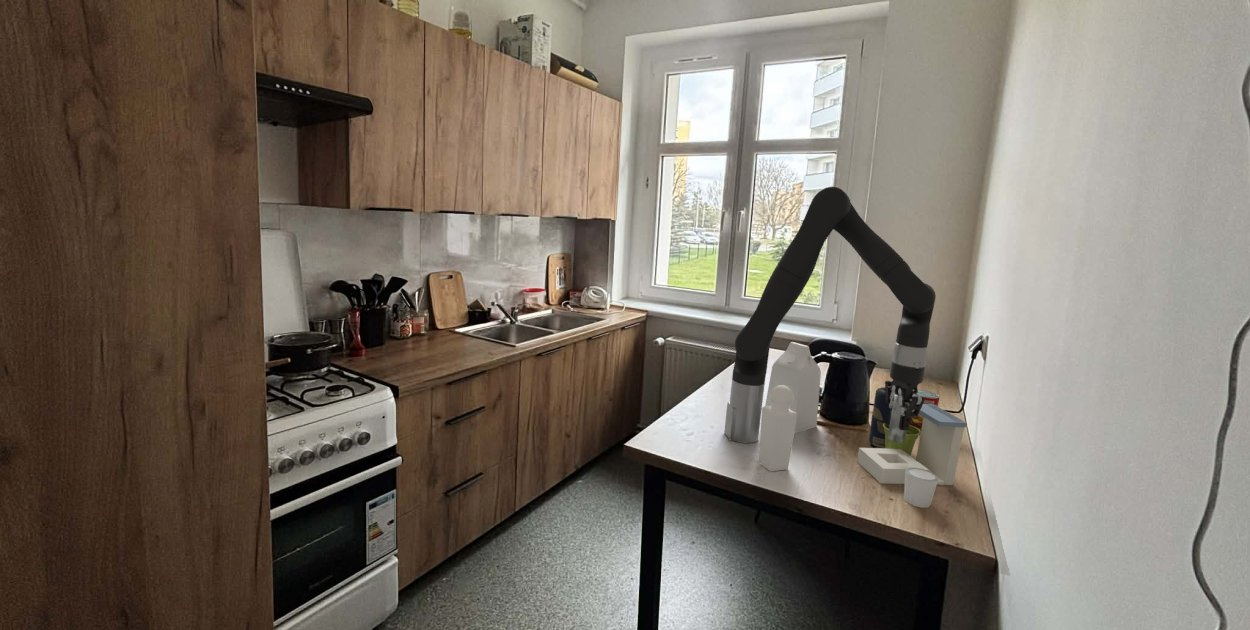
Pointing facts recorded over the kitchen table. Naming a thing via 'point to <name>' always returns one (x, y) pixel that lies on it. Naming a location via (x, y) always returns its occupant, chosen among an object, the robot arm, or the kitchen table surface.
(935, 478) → the white tapered cup
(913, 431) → the plant pot
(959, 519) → the kitchen table surface
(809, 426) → the milk
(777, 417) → the white square bottle
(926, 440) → the socket station
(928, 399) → the canned food
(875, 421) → the canister
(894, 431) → the peg
